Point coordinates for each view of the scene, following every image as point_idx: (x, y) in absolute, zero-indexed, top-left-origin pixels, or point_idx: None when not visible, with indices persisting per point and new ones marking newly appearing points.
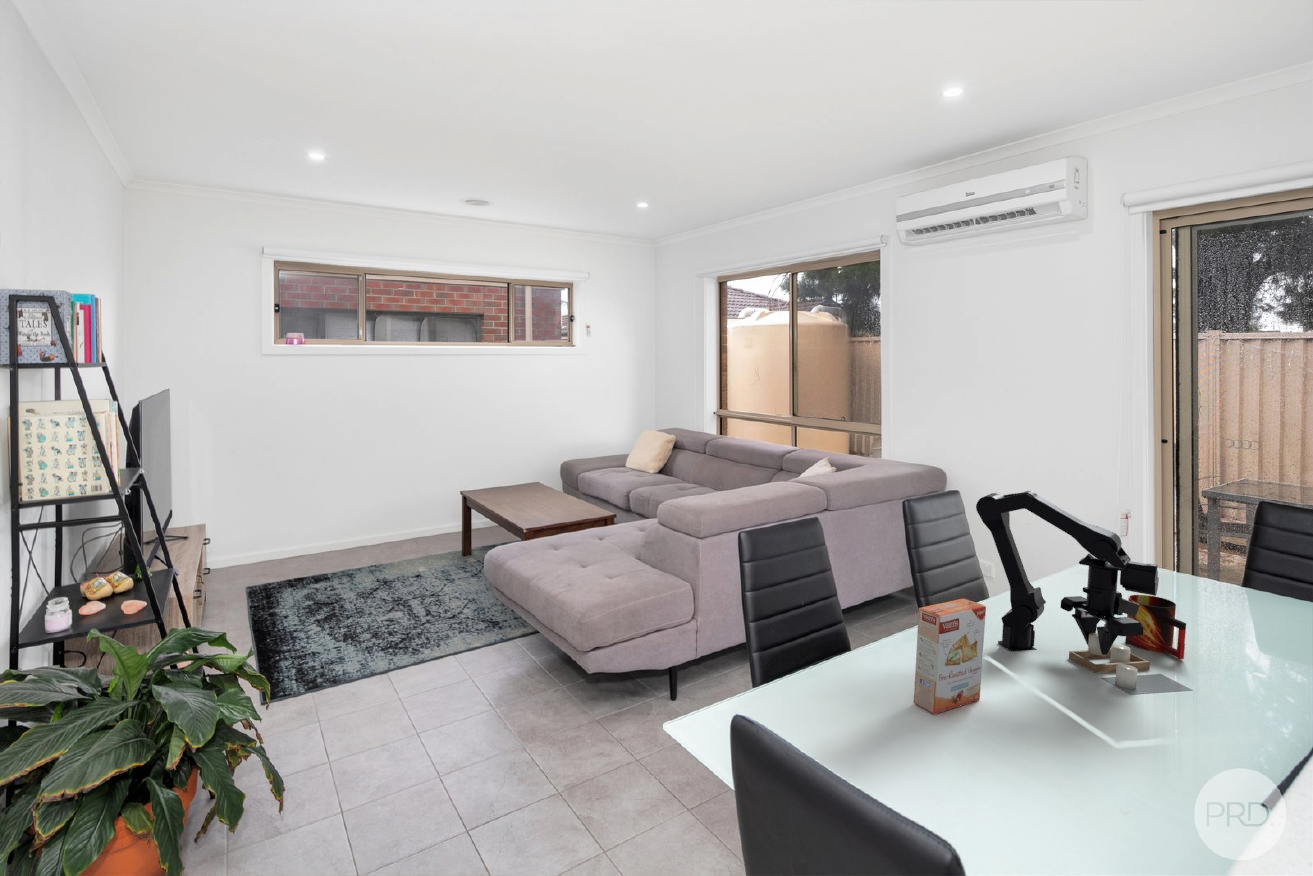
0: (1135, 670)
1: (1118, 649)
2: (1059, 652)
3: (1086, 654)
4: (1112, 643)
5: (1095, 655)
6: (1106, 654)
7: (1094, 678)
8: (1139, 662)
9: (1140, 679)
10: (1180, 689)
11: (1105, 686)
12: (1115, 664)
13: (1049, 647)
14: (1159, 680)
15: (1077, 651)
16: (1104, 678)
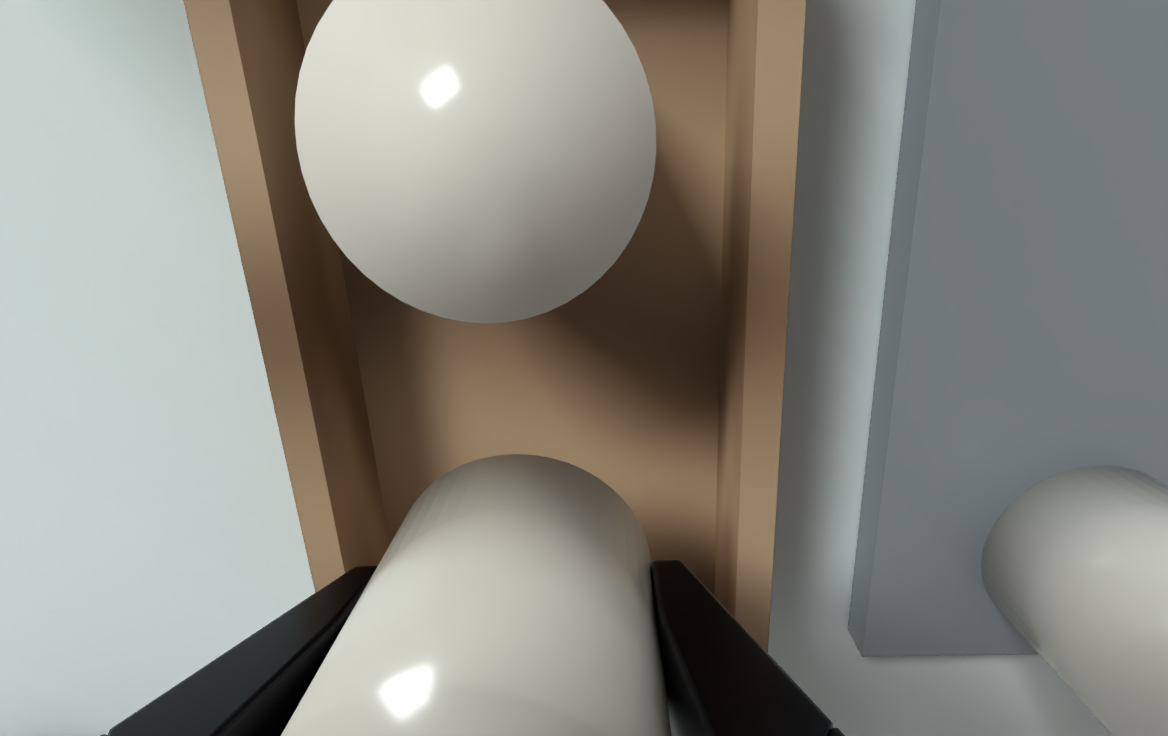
0: None
1: (564, 271)
2: (156, 562)
3: (353, 501)
4: (813, 718)
5: (337, 367)
6: (676, 564)
7: (776, 638)
8: (799, 13)
9: (1024, 276)
10: None
11: (946, 656)
12: (778, 453)
13: (29, 577)
14: (1140, 23)
15: None
16: (884, 638)
